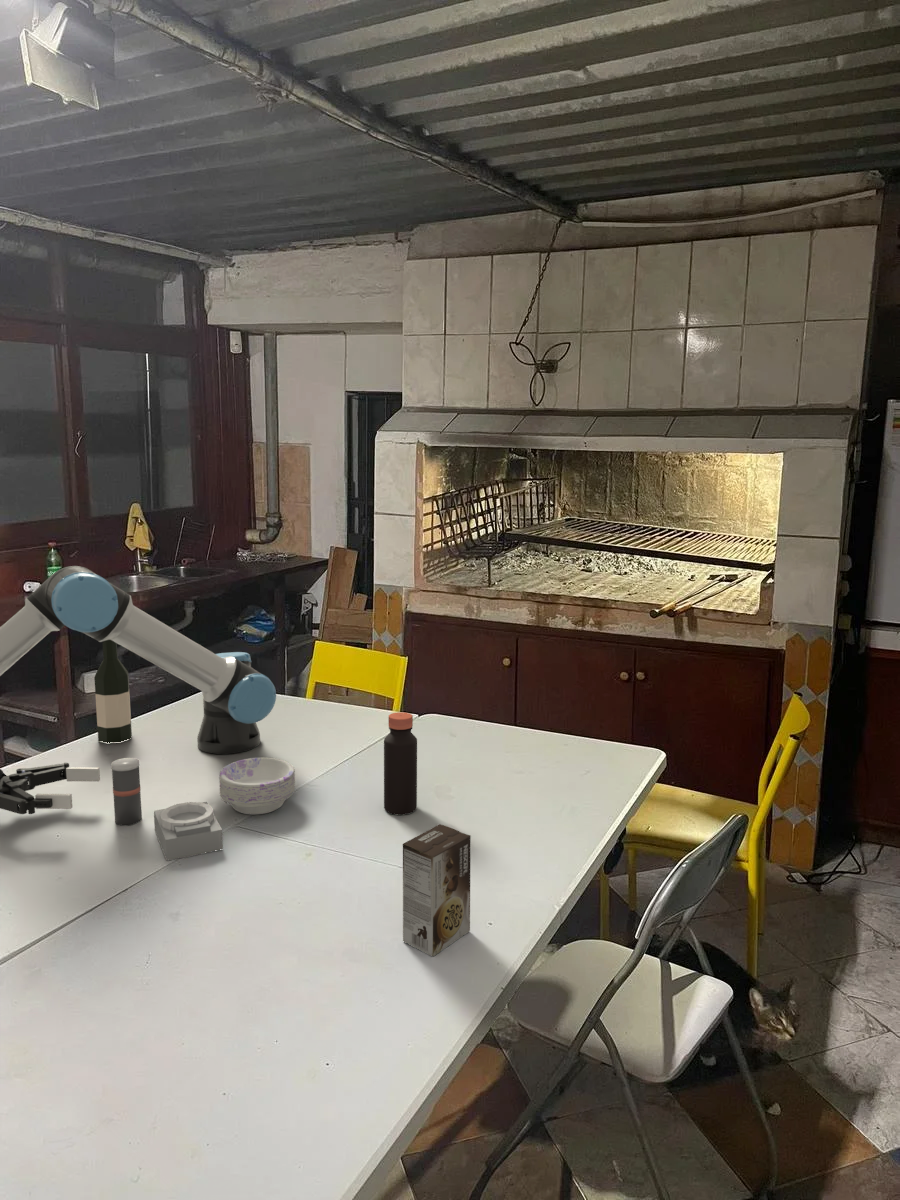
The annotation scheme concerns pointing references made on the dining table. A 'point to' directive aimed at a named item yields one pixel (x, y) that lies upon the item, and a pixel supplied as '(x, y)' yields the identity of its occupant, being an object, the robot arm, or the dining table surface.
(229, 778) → the paper bowls
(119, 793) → the grey capped canister
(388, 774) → the vinegar
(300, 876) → the dining table surface
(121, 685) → the wine bottle
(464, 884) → the coffee box
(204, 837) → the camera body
